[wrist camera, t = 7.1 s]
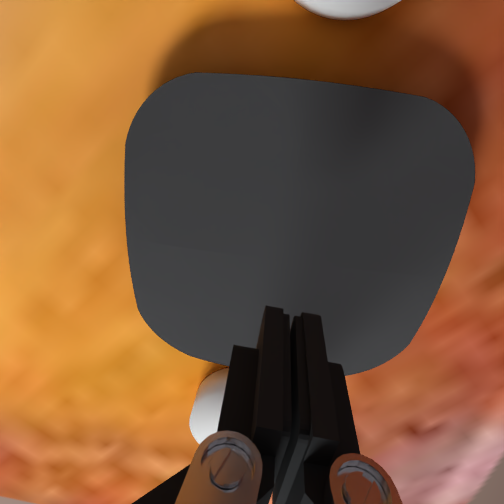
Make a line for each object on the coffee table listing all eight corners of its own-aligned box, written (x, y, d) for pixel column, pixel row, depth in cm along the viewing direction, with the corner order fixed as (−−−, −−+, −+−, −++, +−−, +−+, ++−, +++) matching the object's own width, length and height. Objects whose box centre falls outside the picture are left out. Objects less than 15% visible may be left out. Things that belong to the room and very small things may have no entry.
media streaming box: (139, 61, 15) (107, 58, 12) (478, 97, 14) (522, 103, 12) (152, 324, 22) (134, 359, 19) (383, 354, 21) (398, 394, 19)
